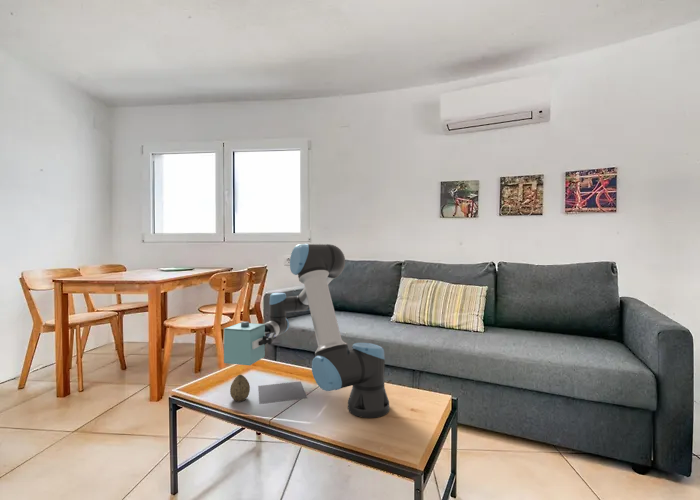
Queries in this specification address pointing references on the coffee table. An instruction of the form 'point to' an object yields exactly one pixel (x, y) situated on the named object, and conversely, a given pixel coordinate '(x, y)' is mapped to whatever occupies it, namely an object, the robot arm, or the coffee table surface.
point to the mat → (281, 392)
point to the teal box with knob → (243, 343)
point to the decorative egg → (240, 388)
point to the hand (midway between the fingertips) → (239, 344)
